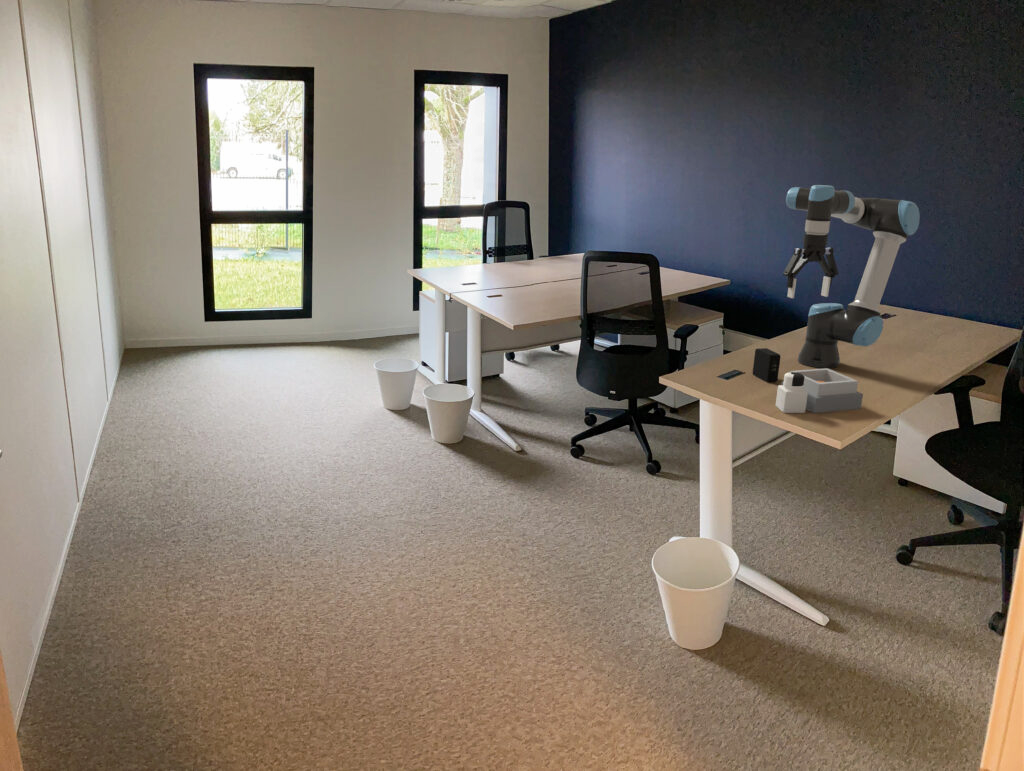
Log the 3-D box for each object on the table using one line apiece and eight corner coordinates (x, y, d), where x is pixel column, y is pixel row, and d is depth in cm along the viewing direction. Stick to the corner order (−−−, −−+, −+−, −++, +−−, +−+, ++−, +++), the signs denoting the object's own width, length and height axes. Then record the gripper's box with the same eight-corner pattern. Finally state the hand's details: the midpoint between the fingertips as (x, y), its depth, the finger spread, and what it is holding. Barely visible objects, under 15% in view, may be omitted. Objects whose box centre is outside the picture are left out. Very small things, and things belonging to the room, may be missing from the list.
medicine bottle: (796, 406, 271) (801, 370, 267) (805, 413, 264) (810, 377, 260) (775, 405, 270) (779, 370, 266) (783, 413, 263) (788, 376, 260)
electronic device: (767, 382, 295) (770, 355, 292) (752, 374, 304) (755, 348, 301) (777, 382, 296) (781, 354, 293) (762, 374, 305) (765, 347, 302)
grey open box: (824, 392, 286) (828, 366, 283) (860, 408, 270) (865, 382, 267) (779, 395, 280) (783, 370, 278) (814, 413, 264) (817, 386, 261)
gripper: (840, 231, 283) (831, 293, 289) (777, 232, 275) (769, 295, 281) (855, 234, 276) (845, 297, 282) (791, 235, 268) (782, 300, 275)
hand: (807, 296), depth 282 cm, fingers open, 13 cm apart
